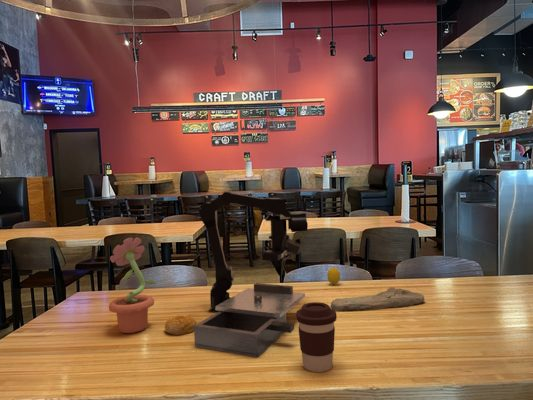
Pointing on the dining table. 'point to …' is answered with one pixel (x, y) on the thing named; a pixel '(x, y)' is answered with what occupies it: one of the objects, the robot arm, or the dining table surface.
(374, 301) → the elongated rock
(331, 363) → the coffee cup
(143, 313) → the decorative flower
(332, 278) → the lemon
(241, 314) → the grey metal box
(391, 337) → the dining table surface
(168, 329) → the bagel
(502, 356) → the dining table surface
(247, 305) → the lid
